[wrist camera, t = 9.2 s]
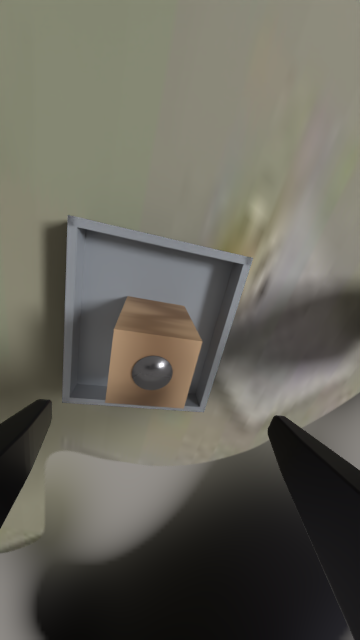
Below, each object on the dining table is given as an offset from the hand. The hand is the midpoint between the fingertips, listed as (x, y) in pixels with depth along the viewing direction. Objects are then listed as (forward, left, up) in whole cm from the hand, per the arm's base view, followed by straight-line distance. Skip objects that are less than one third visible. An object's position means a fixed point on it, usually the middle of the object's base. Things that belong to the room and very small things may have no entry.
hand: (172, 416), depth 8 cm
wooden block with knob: (+1, +1, -11) cm, 11 cm away
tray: (+1, +1, -12) cm, 12 cm away
